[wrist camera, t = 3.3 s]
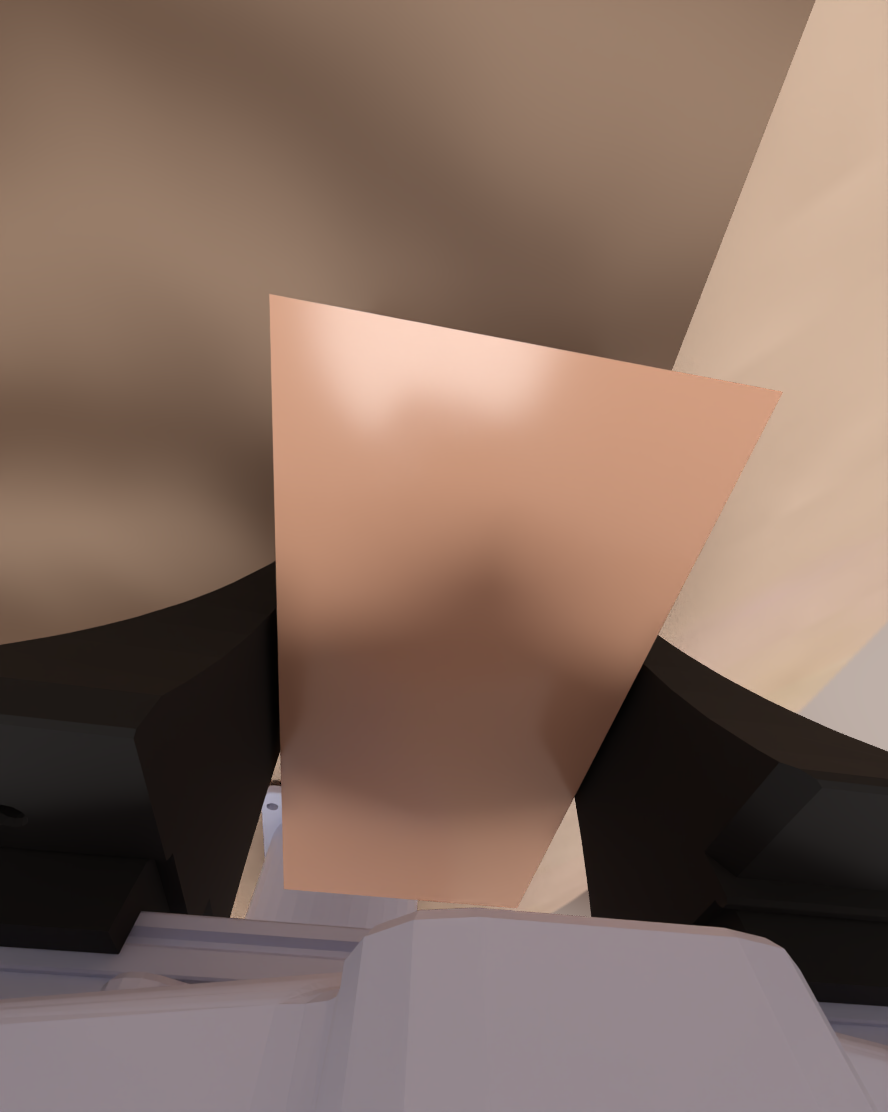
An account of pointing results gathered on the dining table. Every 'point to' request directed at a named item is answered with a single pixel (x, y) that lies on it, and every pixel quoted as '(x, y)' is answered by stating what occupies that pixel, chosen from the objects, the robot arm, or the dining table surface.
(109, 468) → the board
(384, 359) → the tan rectangular block
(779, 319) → the dining table surface
